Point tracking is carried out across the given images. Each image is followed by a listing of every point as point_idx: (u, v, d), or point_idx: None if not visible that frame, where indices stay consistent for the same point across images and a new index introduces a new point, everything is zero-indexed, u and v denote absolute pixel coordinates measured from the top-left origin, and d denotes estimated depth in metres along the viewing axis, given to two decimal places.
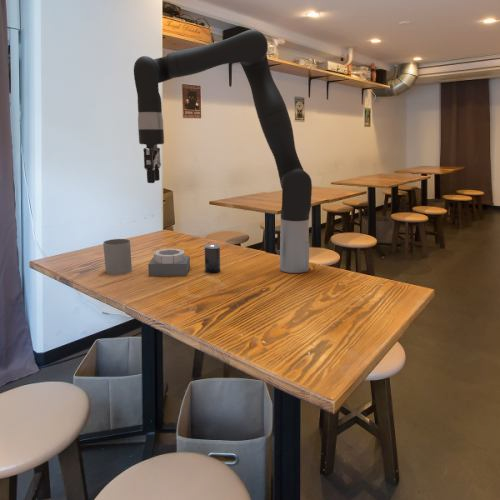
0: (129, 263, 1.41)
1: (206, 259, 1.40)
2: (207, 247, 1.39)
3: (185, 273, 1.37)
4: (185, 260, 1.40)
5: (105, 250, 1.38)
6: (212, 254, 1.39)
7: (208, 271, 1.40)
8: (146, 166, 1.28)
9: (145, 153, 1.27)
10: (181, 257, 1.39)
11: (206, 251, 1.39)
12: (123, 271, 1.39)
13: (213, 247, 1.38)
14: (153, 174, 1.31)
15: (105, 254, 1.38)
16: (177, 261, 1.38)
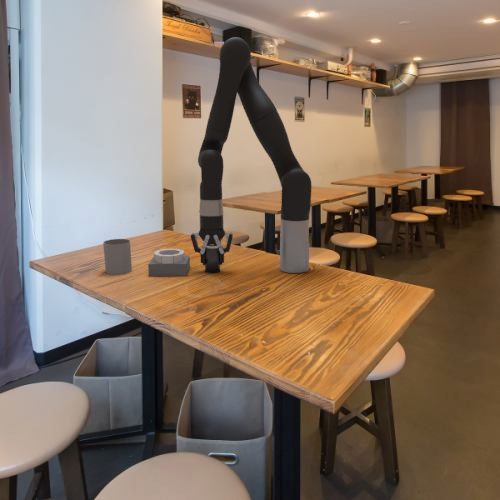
0: (129, 263, 1.41)
1: (206, 259, 1.40)
2: (207, 247, 1.38)
3: (185, 273, 1.37)
4: (185, 260, 1.40)
5: (105, 250, 1.38)
6: (212, 253, 1.39)
7: (208, 271, 1.40)
8: None
9: (231, 239, 1.40)
10: (181, 257, 1.39)
11: (206, 251, 1.39)
12: (123, 271, 1.39)
13: (213, 247, 1.38)
14: None
15: (105, 254, 1.38)
16: (177, 261, 1.38)
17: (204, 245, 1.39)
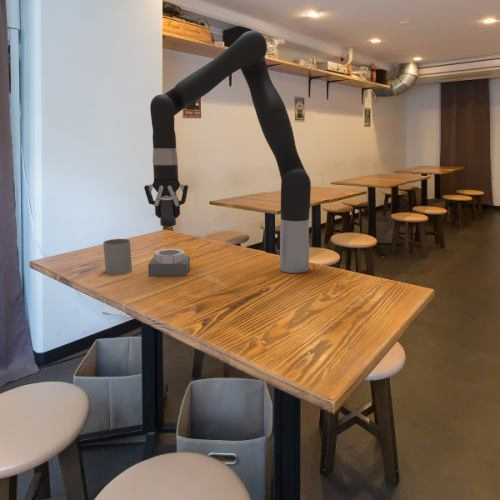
0: (129, 263, 1.41)
1: (161, 211, 1.36)
2: (161, 198, 1.34)
3: (185, 273, 1.37)
4: (185, 260, 1.40)
5: (105, 250, 1.38)
6: (167, 205, 1.34)
7: (163, 224, 1.36)
8: (184, 202, 1.36)
9: (187, 190, 1.35)
10: (181, 257, 1.39)
11: (160, 203, 1.35)
12: (123, 271, 1.39)
13: (167, 198, 1.34)
14: None
15: (105, 254, 1.38)
16: (177, 261, 1.38)
17: (158, 196, 1.34)
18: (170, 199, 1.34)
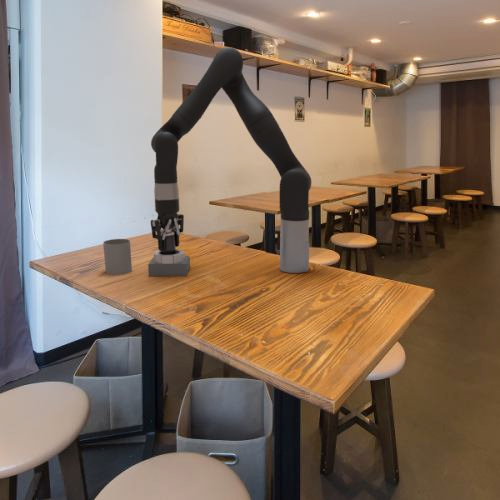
0: (129, 263, 1.41)
1: (167, 247, 1.38)
2: (168, 234, 1.37)
3: (185, 273, 1.37)
4: (185, 260, 1.40)
5: (105, 250, 1.38)
6: (173, 240, 1.39)
7: None
8: None
9: None
10: (181, 257, 1.39)
11: (166, 239, 1.38)
12: (123, 271, 1.39)
13: (173, 233, 1.39)
14: None
15: (105, 254, 1.38)
16: (177, 261, 1.38)
17: (167, 230, 1.36)
18: (173, 233, 1.40)
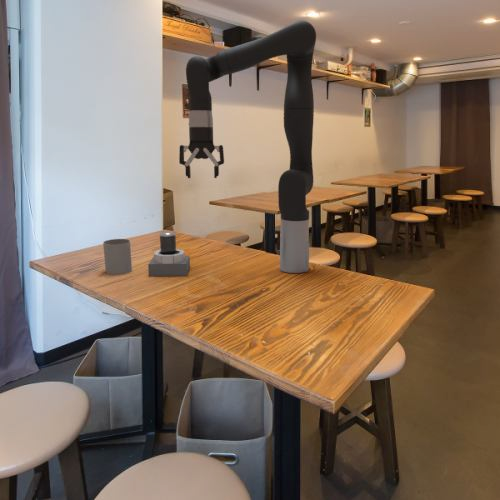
0: (129, 263, 1.41)
1: (167, 248, 1.38)
2: (169, 235, 1.37)
3: (185, 273, 1.37)
4: (185, 260, 1.40)
5: (105, 250, 1.38)
6: (174, 240, 1.39)
7: None
8: (223, 161, 1.38)
9: None
10: (181, 257, 1.39)
11: (167, 239, 1.37)
12: (123, 271, 1.39)
13: (174, 234, 1.39)
14: None
15: (105, 254, 1.38)
16: (177, 261, 1.38)
17: (191, 157, 1.37)
18: (175, 234, 1.40)
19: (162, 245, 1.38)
